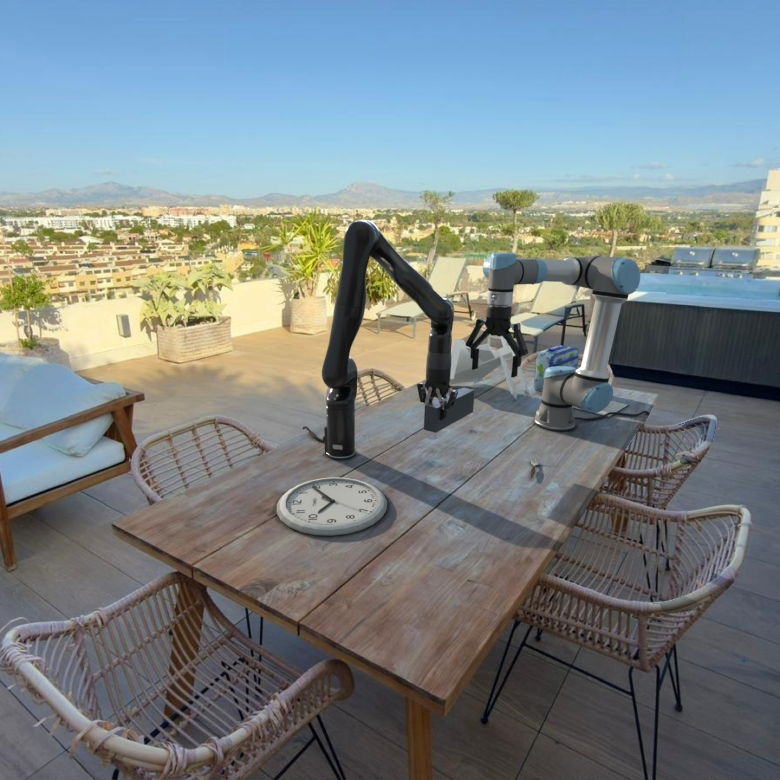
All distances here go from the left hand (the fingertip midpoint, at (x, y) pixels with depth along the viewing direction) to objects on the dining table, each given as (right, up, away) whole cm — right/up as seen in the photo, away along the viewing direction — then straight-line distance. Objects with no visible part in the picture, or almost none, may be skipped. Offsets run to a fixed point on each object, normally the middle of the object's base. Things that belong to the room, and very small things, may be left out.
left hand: (435, 417), depth 164 cm
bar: (+5, -1, +8) cm, 10 cm away
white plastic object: (+27, +8, +79) cm, 84 cm away
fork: (+31, -17, +2) cm, 36 cm away
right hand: (+19, +14, +1) cm, 23 cm away
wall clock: (-30, -23, -21) cm, 43 cm away
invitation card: (+77, +1, +62) cm, 99 cm away
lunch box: (+64, +8, +84) cm, 106 cm away
